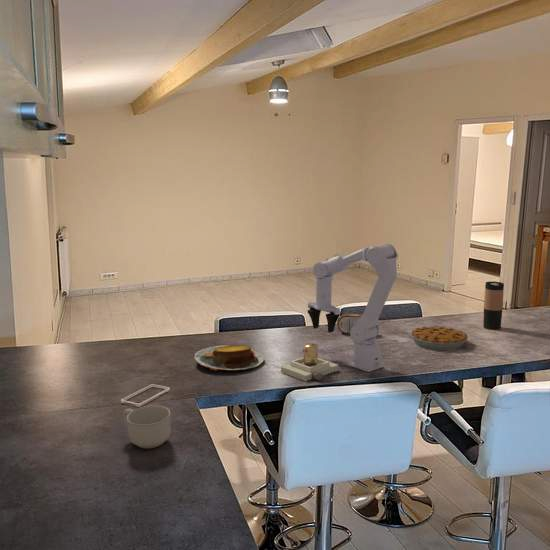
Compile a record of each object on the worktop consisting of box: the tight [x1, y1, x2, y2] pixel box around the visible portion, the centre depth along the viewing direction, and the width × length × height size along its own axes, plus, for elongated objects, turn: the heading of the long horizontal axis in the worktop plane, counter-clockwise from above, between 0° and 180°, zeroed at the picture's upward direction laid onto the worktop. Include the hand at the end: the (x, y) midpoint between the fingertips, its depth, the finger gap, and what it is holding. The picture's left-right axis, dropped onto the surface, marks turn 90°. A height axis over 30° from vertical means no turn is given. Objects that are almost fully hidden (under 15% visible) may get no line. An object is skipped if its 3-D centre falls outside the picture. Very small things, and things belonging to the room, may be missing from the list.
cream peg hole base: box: [280, 357, 340, 382], centre depth 196 cm, size 15×16×4 cm
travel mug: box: [482, 281, 505, 331], centre depth 250 cm, size 8×8×20 cm
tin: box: [336, 313, 363, 334], centre depth 243 cm, size 15×3×8 cm, turn 84°
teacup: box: [122, 404, 172, 450], centre depth 145 cm, size 14×11×8 cm
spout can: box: [302, 342, 319, 367], centre depth 196 cm, size 5×6×7 cm
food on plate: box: [194, 345, 265, 371], centre depth 207 cm, size 25×25×7 cm
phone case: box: [120, 383, 171, 408], centre depth 176 cm, size 7×1×15 cm
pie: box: [410, 326, 468, 351], centre depth 229 cm, size 22×22×5 cm
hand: (323, 329), depth 212 cm, fingers open, 7 cm apart
